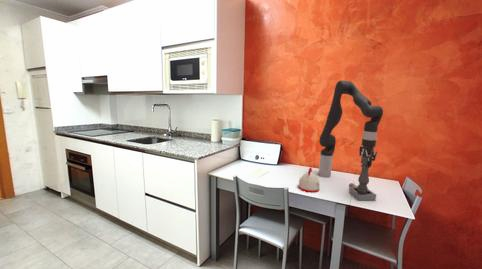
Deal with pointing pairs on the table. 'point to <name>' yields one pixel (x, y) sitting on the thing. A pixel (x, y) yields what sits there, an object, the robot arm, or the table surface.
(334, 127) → the robot arm
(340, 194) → the table surface
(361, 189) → the candle holder
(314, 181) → the beige red dome
